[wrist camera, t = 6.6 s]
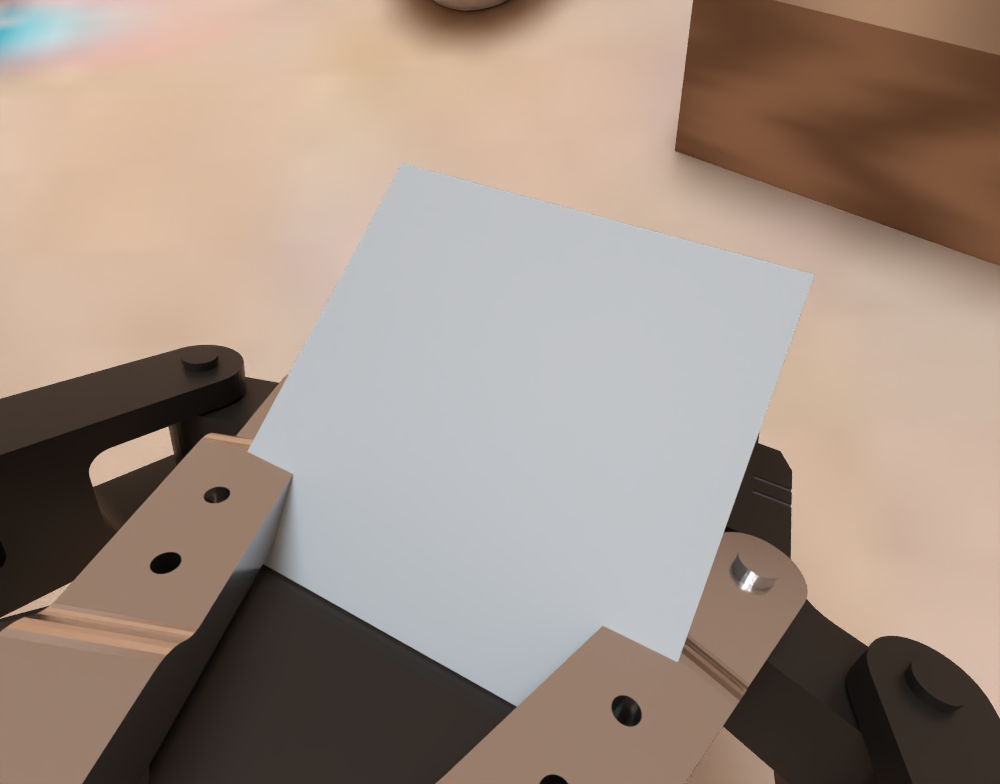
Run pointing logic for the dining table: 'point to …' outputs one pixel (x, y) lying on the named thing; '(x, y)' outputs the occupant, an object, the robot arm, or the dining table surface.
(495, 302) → the slate block
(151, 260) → the dining table surface
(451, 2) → the cupcake
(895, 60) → the pedestal
